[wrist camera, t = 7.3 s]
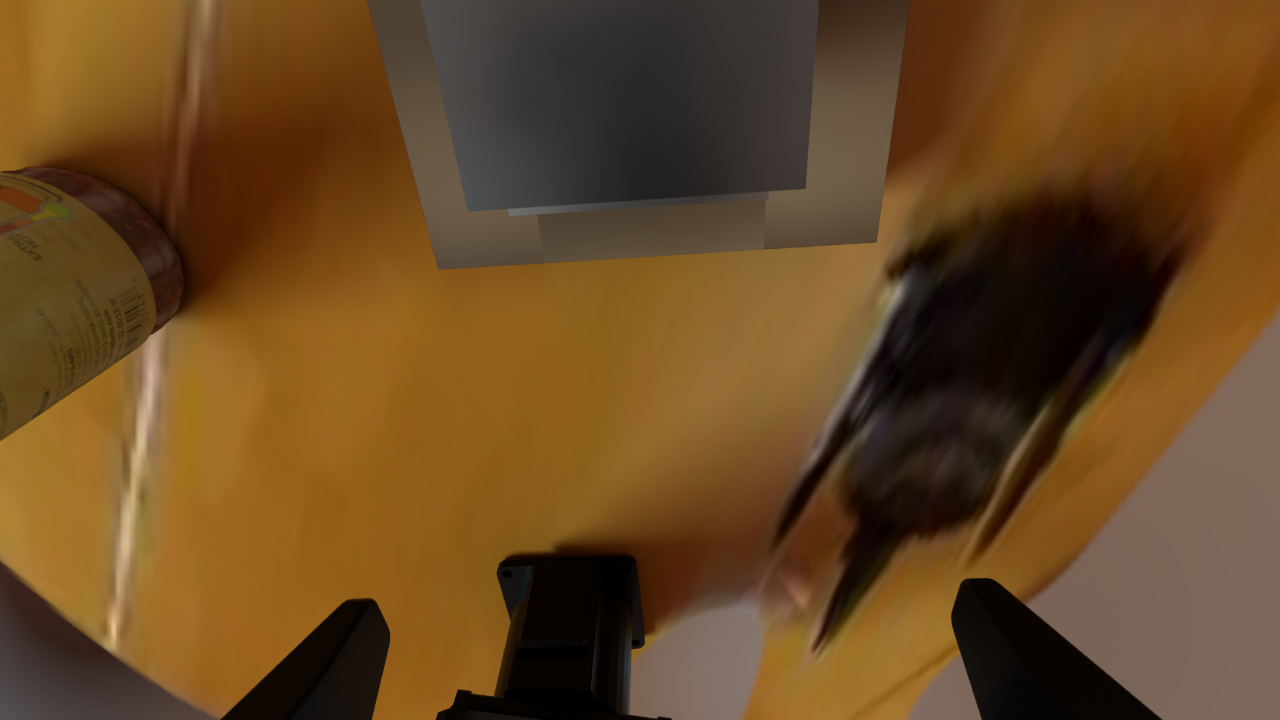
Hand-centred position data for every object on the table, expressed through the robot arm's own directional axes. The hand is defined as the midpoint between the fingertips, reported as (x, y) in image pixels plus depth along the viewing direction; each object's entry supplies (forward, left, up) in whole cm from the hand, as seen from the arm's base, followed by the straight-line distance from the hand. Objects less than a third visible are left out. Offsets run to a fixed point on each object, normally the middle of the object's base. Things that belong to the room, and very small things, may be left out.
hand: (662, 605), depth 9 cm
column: (+8, 0, -9) cm, 12 cm away
